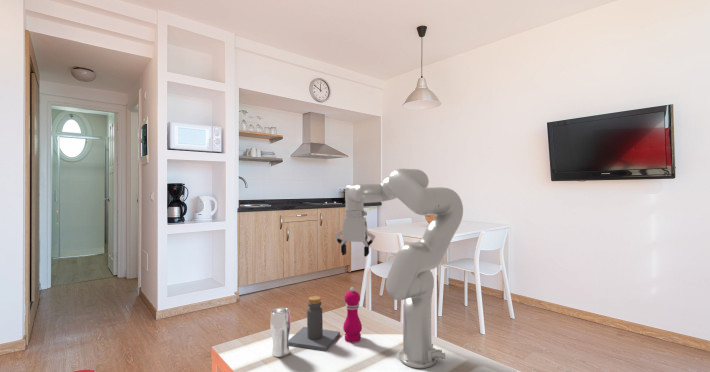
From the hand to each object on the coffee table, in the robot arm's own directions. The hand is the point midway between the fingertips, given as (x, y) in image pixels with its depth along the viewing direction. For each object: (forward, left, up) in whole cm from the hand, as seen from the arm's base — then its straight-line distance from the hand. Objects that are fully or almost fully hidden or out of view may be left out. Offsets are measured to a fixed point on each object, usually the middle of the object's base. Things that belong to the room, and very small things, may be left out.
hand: (355, 255), depth 142 cm
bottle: (+12, +15, -29) cm, 35 cm away
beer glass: (+19, +28, -31) cm, 46 cm away
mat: (+12, +15, -30) cm, 36 cm away
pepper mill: (-2, +10, -31) cm, 32 cm away
